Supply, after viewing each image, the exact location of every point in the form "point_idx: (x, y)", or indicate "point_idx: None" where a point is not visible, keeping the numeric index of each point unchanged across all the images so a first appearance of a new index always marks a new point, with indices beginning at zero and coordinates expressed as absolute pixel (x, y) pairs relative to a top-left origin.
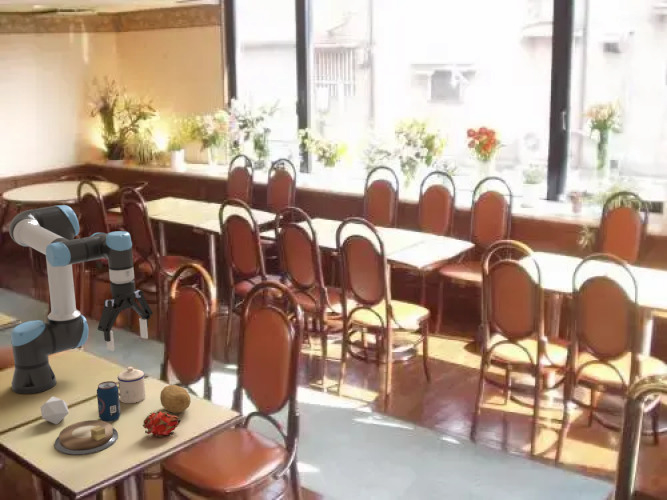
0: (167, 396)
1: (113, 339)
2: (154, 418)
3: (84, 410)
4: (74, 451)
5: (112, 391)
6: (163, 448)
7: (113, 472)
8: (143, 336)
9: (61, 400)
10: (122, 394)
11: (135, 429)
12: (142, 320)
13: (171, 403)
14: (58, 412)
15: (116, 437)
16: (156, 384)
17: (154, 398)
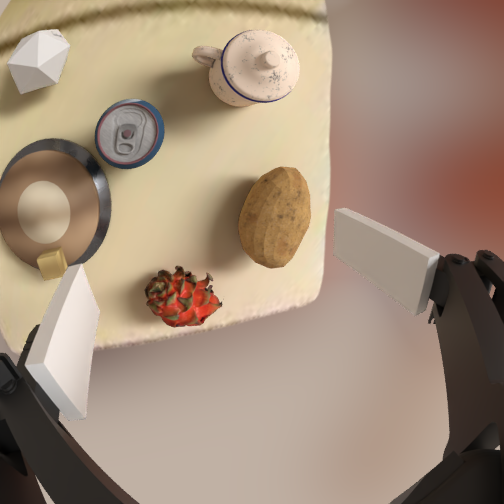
0: (257, 231)
1: (90, 363)
2: (166, 317)
3: (120, 51)
4: None
5: (128, 167)
6: (154, 331)
7: None
8: (340, 237)
9: (36, 69)
10: (213, 75)
11: (148, 230)
12: (415, 288)
13: (247, 252)
14: (28, 90)
15: (97, 248)
16: (319, 64)
17: (273, 117)
